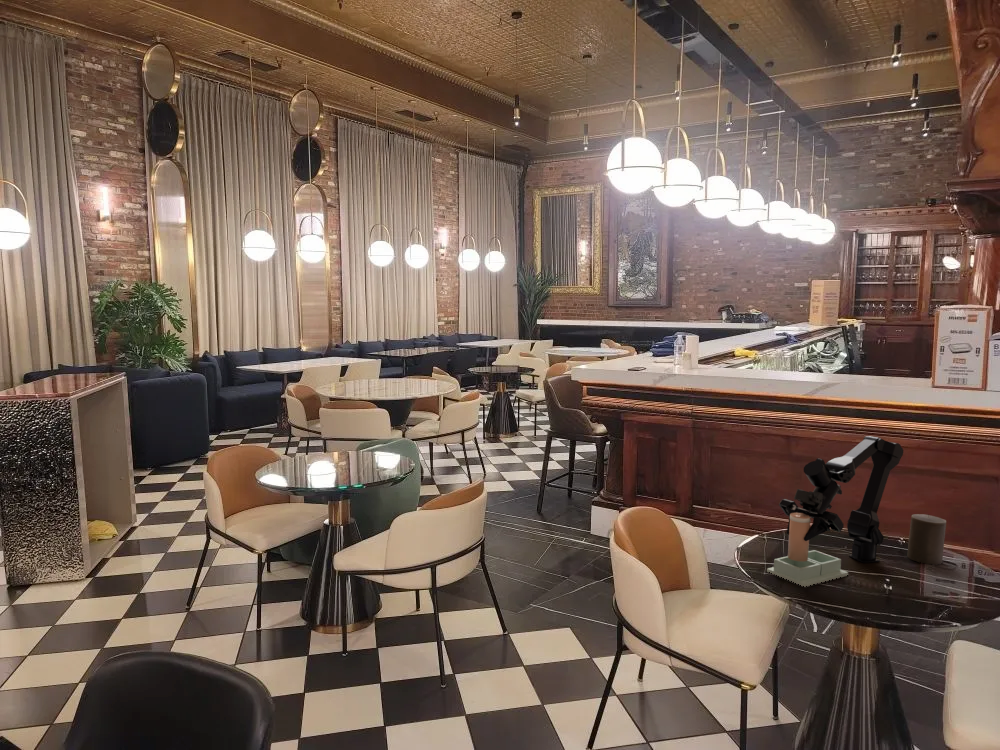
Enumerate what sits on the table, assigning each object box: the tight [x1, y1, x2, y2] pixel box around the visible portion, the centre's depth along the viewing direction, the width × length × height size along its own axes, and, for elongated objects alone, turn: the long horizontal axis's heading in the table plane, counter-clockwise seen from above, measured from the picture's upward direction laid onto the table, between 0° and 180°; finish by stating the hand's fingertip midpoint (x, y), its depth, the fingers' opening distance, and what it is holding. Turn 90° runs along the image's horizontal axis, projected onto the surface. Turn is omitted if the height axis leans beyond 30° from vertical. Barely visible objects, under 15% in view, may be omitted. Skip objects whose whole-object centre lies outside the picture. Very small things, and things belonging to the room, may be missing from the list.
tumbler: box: [787, 513, 812, 562], centre depth 204 cm, size 6×6×13 cm
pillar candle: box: [906, 513, 947, 566], centre depth 222 cm, size 10×10×15 cm
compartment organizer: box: [766, 549, 849, 588], centre depth 208 cm, size 20×13×4 cm, turn 120°
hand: (796, 537), depth 204 cm, fingers closed on tumbler, 5 cm apart
